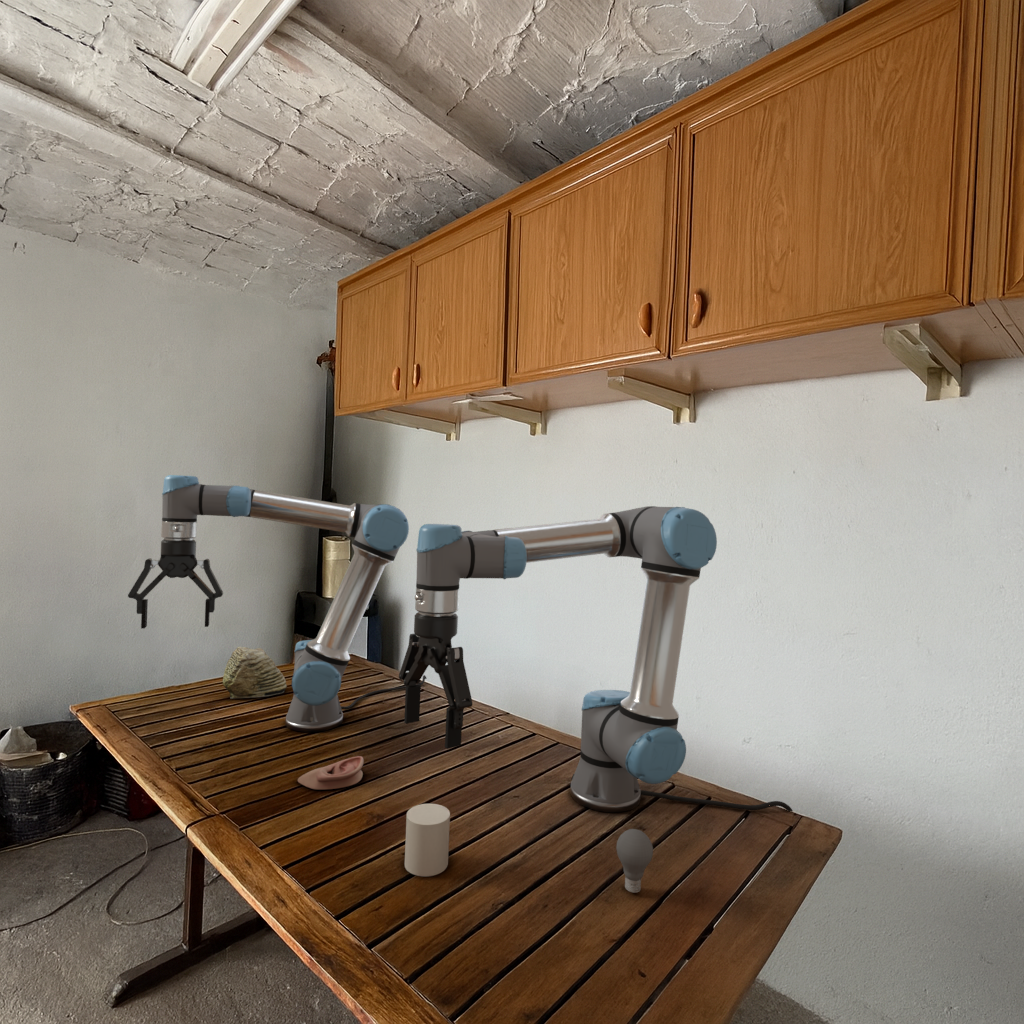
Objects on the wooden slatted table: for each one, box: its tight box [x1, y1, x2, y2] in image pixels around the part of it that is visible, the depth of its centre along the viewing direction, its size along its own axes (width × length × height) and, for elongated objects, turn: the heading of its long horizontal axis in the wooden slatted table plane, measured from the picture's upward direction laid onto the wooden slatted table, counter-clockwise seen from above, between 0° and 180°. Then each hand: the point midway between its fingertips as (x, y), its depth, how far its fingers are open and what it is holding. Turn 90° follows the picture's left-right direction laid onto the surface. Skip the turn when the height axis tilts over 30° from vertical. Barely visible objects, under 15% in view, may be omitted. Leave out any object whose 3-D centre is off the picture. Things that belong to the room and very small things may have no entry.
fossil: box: [222, 646, 288, 699], centre depth 198 cm, size 9×18×15 cm, turn 132°
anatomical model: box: [297, 755, 364, 791], centre depth 142 cm, size 13×4×12 cm
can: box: [404, 803, 451, 877], centre depth 111 cm, size 8×8×9 cm
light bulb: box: [615, 828, 654, 894], centre depth 106 cm, size 6×6×10 cm
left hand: (175, 626), depth 153 cm, fingers open, 13 cm apart
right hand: (431, 733), depth 111 cm, fingers open, 13 cm apart
